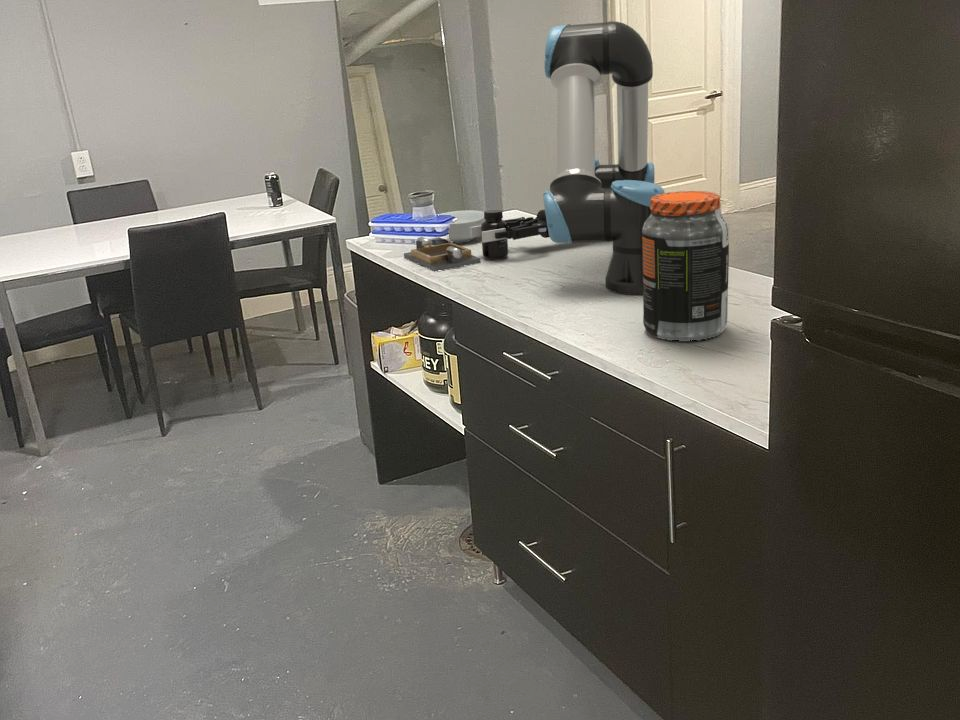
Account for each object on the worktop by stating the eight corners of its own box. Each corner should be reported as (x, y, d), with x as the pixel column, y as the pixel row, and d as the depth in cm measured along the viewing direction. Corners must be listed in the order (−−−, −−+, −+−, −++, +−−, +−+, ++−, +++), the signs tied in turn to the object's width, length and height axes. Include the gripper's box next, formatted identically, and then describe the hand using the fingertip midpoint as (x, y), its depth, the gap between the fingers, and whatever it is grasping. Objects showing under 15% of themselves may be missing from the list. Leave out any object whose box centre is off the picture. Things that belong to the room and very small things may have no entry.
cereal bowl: (422, 239, 266) (420, 215, 263) (473, 231, 272) (472, 207, 270) (445, 250, 251) (443, 225, 249) (498, 240, 257) (497, 216, 255)
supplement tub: (742, 325, 173) (746, 191, 165) (701, 349, 163) (703, 207, 154) (669, 313, 184) (669, 186, 175) (626, 335, 173) (624, 201, 164)
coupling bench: (481, 263, 234) (480, 244, 232) (436, 272, 229) (434, 253, 227) (446, 249, 251) (445, 232, 250) (403, 257, 246) (402, 240, 244)
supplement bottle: (508, 258, 235) (506, 212, 230) (482, 260, 235) (479, 214, 231) (508, 252, 241) (505, 207, 237) (483, 254, 241) (479, 209, 237)
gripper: (573, 242, 235) (493, 255, 227) (538, 230, 252) (462, 242, 244) (572, 213, 232) (491, 226, 224) (537, 203, 249) (460, 214, 241)
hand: (476, 234), depth 234 cm, fingers closed on supplement bottle, 7 cm apart
